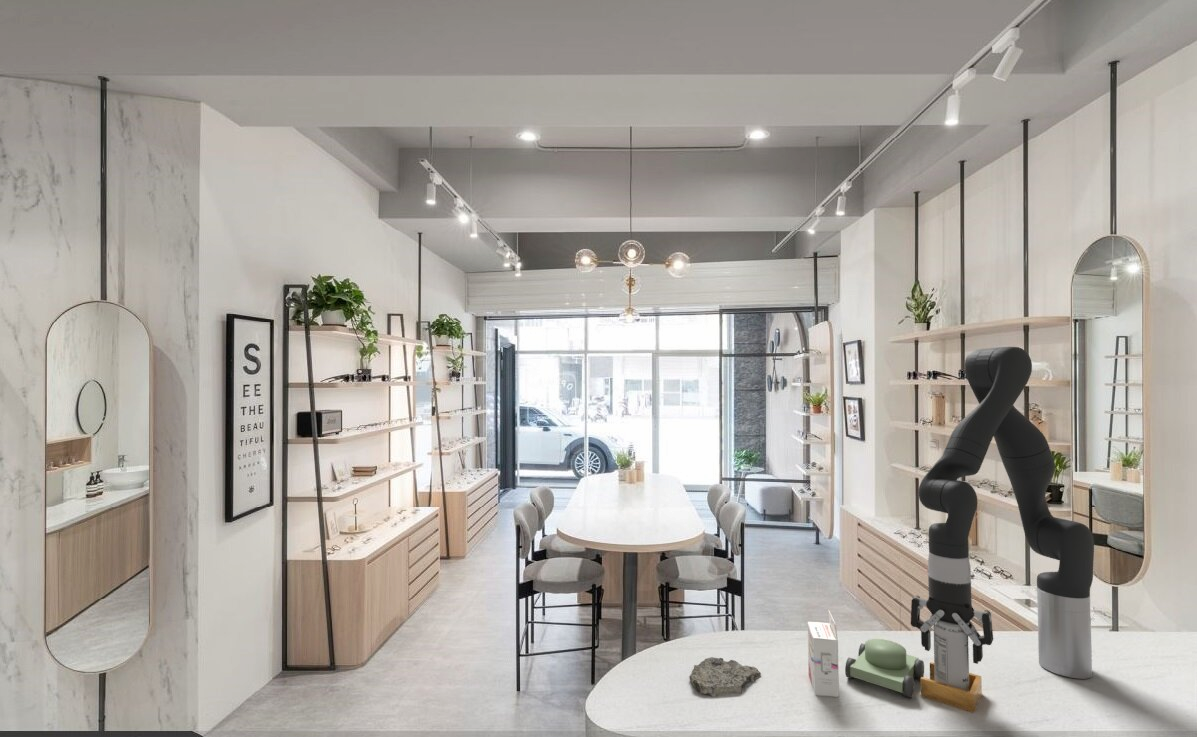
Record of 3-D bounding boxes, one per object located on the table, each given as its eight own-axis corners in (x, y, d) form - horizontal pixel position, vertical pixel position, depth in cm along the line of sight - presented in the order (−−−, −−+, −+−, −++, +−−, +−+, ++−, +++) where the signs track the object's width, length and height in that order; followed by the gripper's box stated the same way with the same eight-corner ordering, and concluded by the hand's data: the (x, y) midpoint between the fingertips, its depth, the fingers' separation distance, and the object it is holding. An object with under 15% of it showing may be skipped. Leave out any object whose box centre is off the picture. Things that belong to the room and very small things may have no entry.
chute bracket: (930, 678, 122) (930, 661, 122) (981, 693, 116) (981, 676, 116) (920, 695, 115) (920, 678, 116) (974, 712, 109) (973, 694, 109)
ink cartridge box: (807, 674, 124) (806, 606, 124) (831, 677, 123) (830, 608, 123) (813, 695, 116) (813, 622, 116) (839, 698, 115) (838, 624, 115)
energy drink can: (973, 705, 112) (971, 628, 112) (938, 699, 114) (936, 624, 115) (965, 690, 118) (963, 617, 118) (932, 684, 120) (930, 613, 120)
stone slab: (673, 686, 120) (673, 672, 120) (715, 657, 133) (715, 644, 133) (725, 709, 112) (725, 694, 112) (764, 676, 124) (764, 662, 124)
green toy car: (864, 657, 132) (864, 629, 132) (924, 675, 123) (924, 645, 124) (844, 681, 121) (844, 650, 121) (908, 702, 113) (908, 669, 113)
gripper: (993, 578, 115) (995, 659, 114) (914, 564, 124) (916, 639, 124) (988, 589, 109) (990, 674, 109) (906, 573, 118) (908, 651, 118)
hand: (951, 655), depth 116 cm, fingers open, 8 cm apart
